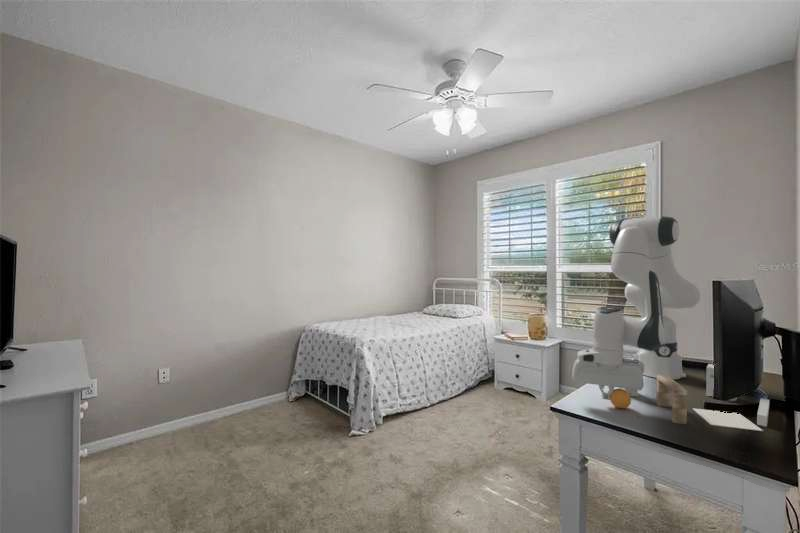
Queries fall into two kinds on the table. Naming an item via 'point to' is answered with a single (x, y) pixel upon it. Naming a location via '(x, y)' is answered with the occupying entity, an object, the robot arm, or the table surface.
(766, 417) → the rail
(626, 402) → the ball
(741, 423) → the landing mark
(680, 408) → the bridge
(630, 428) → the table surface
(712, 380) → the small box
